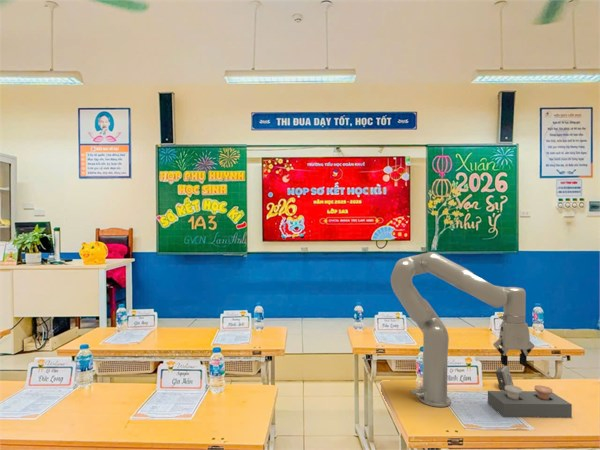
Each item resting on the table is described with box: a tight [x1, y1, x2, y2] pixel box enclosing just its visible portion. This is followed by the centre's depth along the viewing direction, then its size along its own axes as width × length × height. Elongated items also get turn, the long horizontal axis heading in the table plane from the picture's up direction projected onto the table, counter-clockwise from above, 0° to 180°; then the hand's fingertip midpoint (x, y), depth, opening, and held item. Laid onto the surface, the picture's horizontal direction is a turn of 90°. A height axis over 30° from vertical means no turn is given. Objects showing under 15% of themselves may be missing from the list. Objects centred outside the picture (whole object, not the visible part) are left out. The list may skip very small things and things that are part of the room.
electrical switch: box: [495, 365, 515, 391], centre depth 177 cm, size 9×5×9 cm, turn 141°
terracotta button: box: [534, 385, 553, 400], centre depth 155 cm, size 6×6×5 cm
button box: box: [487, 390, 573, 419], centre depth 155 cm, size 26×12×5 cm, turn 92°
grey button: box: [504, 384, 523, 400], centre depth 155 cm, size 6×6×5 cm
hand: (513, 364), depth 155 cm, fingers open, 6 cm apart
